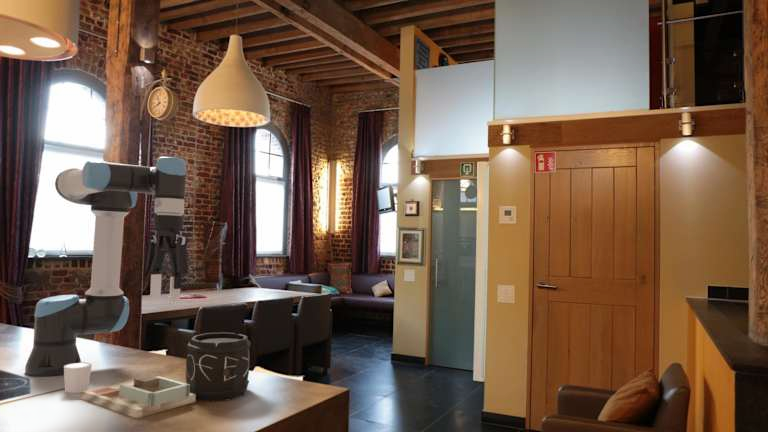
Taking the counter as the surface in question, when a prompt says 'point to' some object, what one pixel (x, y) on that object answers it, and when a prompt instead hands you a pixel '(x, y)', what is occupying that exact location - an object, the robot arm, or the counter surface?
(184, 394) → the cubby
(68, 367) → the shot glass
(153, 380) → the block
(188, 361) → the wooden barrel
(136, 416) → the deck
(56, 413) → the counter surface
